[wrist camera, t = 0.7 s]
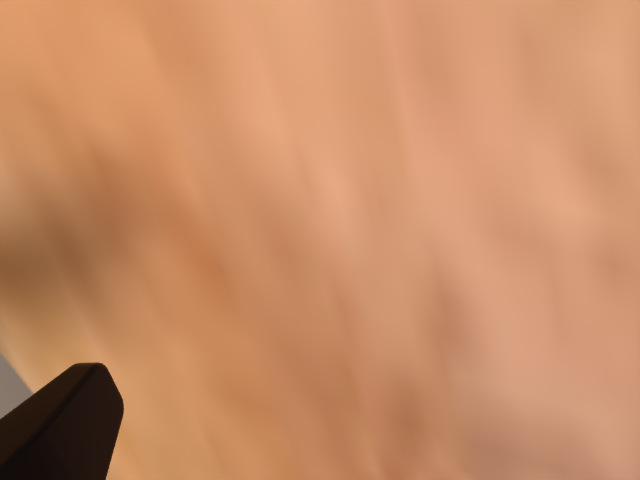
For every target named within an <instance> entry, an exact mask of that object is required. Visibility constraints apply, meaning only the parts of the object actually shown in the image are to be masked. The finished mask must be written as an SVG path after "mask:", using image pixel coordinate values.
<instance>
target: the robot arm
mask: <svg viewBox="0 0 640 480" xmlns="http://www.w3.org/2000/svg"><path fill="white" fill-rule="evenodd" d="M123 412H124V404H123V399H122V397H121V395H120V393H119V391H118V389H117V387H116V385H115V383H114V381H113V379H112V377H111V375H110V373H109V371H108V369H107V367H106V366H105V365H103V364H102V363H77V364H74V365H72V366H71V367H69V368H68V369H67V370H65V371H64V372H63V373H61V374H60V375H59V376H57V377H56V378H55V379H53V380H52V381H51V382H49V383H48V384H47V385H45V386H44V387H43V388H41V389H40V390H39V391H37V392H36V393H35V394H33V395H32V396H31V397H30V398H28V399H27V400H25V401H24V402H23V403H21V404H20V405H19V406H17V407H16V408H15V409H13V410H12V411H11V412H9V413H8V414H7V415H5V416H4V417H3V418H1V419H0V480H106V476H107V473H108V469H109V465H110V462H111V458H112V454H113V451H114V447H115V443H116V440H117V436H118V432H119V429H120V425H121V421H122V418H123Z"/></svg>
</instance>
